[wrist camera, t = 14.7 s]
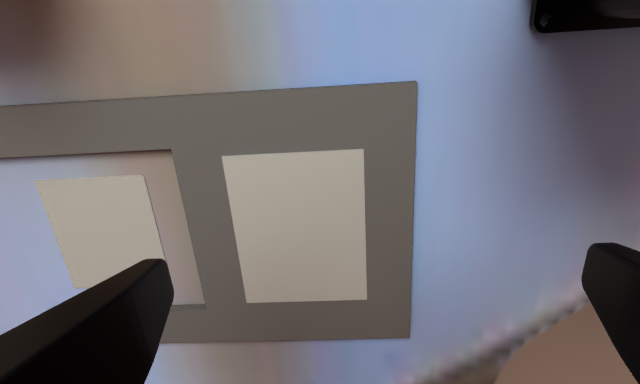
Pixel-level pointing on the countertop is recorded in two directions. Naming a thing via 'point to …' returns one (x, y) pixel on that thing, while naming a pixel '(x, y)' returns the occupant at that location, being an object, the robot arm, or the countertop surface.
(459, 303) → the countertop surface
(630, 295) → the robot arm
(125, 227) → the label board
